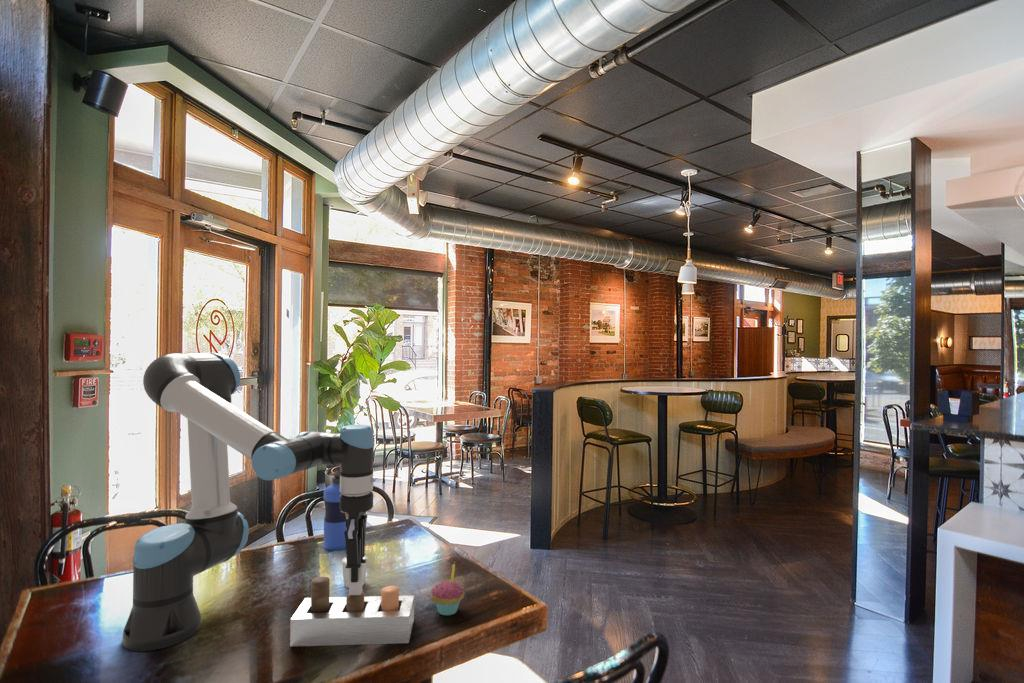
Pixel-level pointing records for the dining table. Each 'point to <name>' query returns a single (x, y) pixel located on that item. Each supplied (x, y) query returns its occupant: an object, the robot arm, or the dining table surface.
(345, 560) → the white cup
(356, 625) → the jig
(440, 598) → the cupcake
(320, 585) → the plug near
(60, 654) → the dining table surface
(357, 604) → the plug mid
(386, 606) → the plug terracotta
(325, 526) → the water bottle
